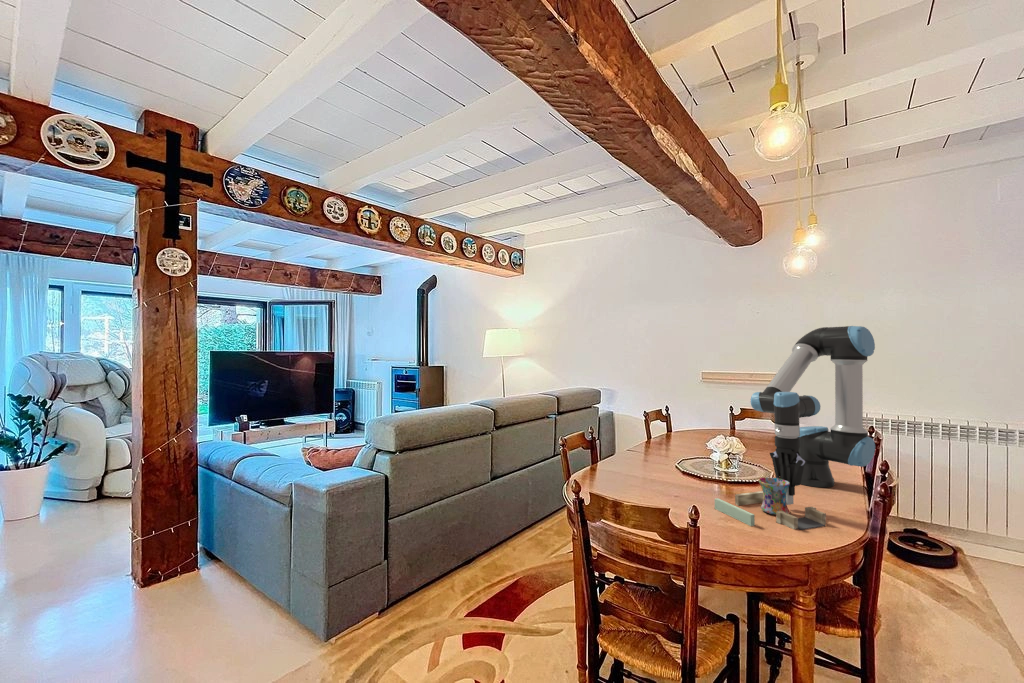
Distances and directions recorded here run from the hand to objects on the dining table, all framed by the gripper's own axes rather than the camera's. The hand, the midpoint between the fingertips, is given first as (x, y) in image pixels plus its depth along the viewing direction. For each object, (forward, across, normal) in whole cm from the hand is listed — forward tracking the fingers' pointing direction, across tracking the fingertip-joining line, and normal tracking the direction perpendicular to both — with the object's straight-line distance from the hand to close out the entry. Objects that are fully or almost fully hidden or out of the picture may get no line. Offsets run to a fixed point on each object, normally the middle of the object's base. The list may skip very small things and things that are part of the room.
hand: (788, 503), depth 155 cm
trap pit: (+2, +11, -7) cm, 13 cm away
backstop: (+2, 0, -23) cm, 23 cm away
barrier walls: (+2, +2, -6) cm, 7 cm away
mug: (+2, 0, -6) cm, 6 cm away
